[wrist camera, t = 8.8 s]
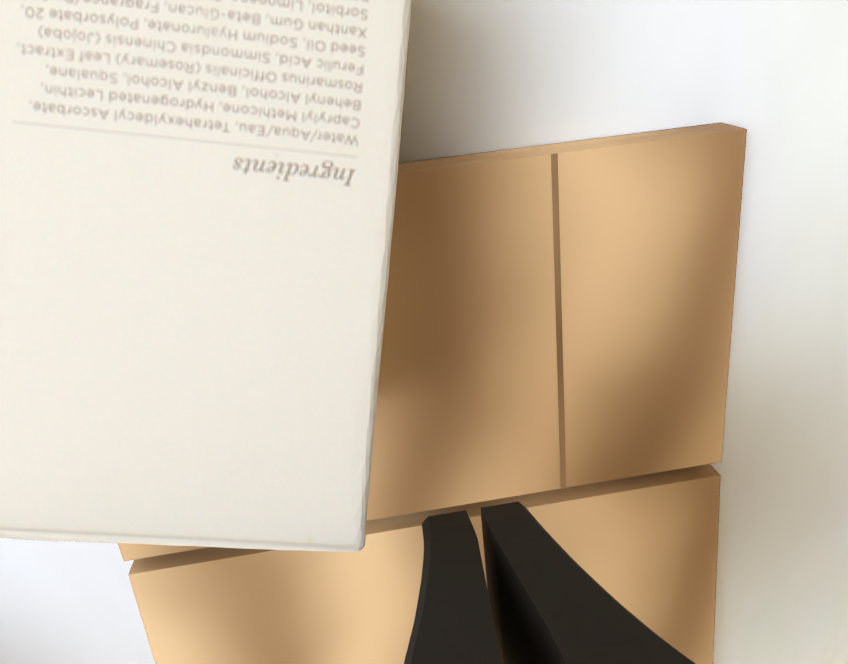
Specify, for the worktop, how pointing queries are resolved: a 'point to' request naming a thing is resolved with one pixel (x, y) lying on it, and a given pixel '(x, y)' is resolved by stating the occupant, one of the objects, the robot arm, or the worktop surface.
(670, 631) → the plank
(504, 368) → the laid board
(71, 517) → the small box
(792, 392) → the worktop surface
